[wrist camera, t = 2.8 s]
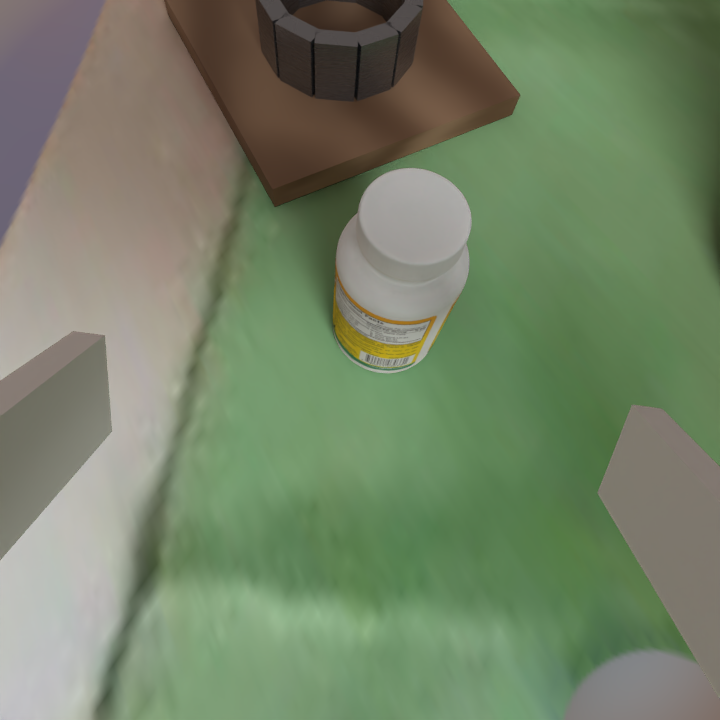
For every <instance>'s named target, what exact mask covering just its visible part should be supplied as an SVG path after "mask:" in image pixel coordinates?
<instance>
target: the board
mask: <svg viewBox="0 0 720 720" xmlns="http://www.w3.org/2000/svg"><path fill="white" fill-rule="evenodd" d="M164 1H165V4H166V8H167V11H168V15H169V17H170V19H171V21H172V22H173V24H174V26H175V28H176V30H177V31H178V33H179V35H180V37H181V39H182V40H183V42H184V44H185V46H186V48H187V49H188V51H189V53H190V55H191V57H192V58H193V60H194V62H195V64H196V66H197V67H198V69H199V71H200V73H201V75H202V76H203V78H204V80H205V82H206V84H207V85H208V87H209V89H210V91H211V93H212V94H213V96H214V98H215V100H216V102H217V103H218V105H219V107H220V109H221V111H222V112H223V114H224V116H225V118H226V120H227V121H228V123H229V125H230V127H231V129H232V130H233V132H234V134H235V136H236V138H237V139H238V141H239V143H240V145H241V147H242V148H243V150H244V152H245V154H246V156H247V157H248V159H249V161H250V163H251V165H252V166H253V168H254V170H255V172H256V174H257V175H258V177H259V179H260V181H261V183H262V185H263V186H264V188H265V190H266V192H267V194H268V195H269V197H270V199H271V201H272V203H273V204H274V206H275V207H276V206H278V205H281V204H283V203H286V202H289V201H291V200H294V199H296V198H299V197H301V196H304V195H307V194H309V193H312V192H314V191H317V190H319V189H322V188H325V187H327V186H330V185H332V184H335V183H337V182H340V181H343V180H345V179H348V178H350V177H353V176H355V175H358V174H361V173H363V172H366V171H368V170H371V169H373V168H376V167H379V166H381V165H384V164H386V163H389V162H391V161H394V160H397V159H399V158H402V157H404V156H407V155H409V154H412V153H415V152H417V151H420V150H422V149H425V148H427V147H430V146H433V145H435V144H438V143H440V142H443V141H445V140H448V139H451V138H453V137H456V136H458V135H461V134H463V133H466V132H469V131H471V130H474V129H476V128H479V127H481V126H484V125H487V124H489V123H492V122H494V121H497V120H499V119H502V118H505V117H507V116H510V115H512V113H513V111H514V109H515V106H516V104H517V102H518V99H519V97H520V94H519V93H518V91H517V90H516V89H515V87H514V86H513V85H512V84H511V82H510V81H509V80H508V78H507V77H506V76H505V75H504V73H503V72H502V71H501V70H500V68H499V67H498V66H497V64H496V63H495V62H494V61H493V59H492V58H491V57H490V55H489V54H488V53H487V52H486V50H485V49H484V48H483V46H482V45H481V44H480V43H479V41H478V40H477V39H476V38H475V36H474V35H473V34H472V32H471V31H470V30H469V29H468V27H467V26H466V25H465V23H464V22H463V21H462V20H461V18H460V17H459V16H458V15H457V13H456V12H455V11H454V9H453V8H452V7H451V6H450V4H449V3H448V2H447V0H423V10H422V15H421V21H420V26H419V32H418V37H417V42H416V48H415V53H414V59H413V63H412V66H411V67H410V68H409V69H408V70H407V72H406V73H405V74H404V75H403V76H402V78H401V79H400V80H399V81H398V82H397V84H396V85H395V86H394V87H393V88H392V87H391V90H388V91H385V92H382V93H379V94H377V95H374V96H371V97H368V98H365V99H362V100H360V101H357V100H356V99H355V97H354V102H350V101H338V100H326V99H315V95H314V96H313V97H310V96H308V95H306V94H304V93H302V92H301V91H299V90H297V89H295V88H293V87H291V86H290V85H288V84H286V83H284V82H282V81H280V78H277V76H276V74H275V73H274V71H273V70H272V68H271V66H270V65H269V63H268V61H267V60H266V58H265V56H264V55H263V53H262V50H261V43H260V34H259V26H258V18H257V10H256V2H255V0H164ZM293 16H295V17H296V18H298V19H300V20H302V21H304V22H306V23H308V24H310V25H312V26H314V27H316V28H317V29H322V30H333V31H344V32H358V31H361V30H364V29H367V28H370V27H374V26H377V25H380V24H383V23H386V21H385V20H384V18H383V17H382V16H381V15H379V14H377V13H375V12H373V11H371V10H369V9H367V8H365V7H363V6H361V5H359V4H357V3H350V2H339V1H328V0H326V1H323V2H319V3H316V4H313V5H309V6H306V7H303V8H300V9H298V10H297V11H296V12H295V13H294V14H293Z"/></svg>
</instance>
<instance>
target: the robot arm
mask: <svg viewBox="0 0 720 720" xmlns="http://www.w3.org/2000/svg"><path fill="white" fill-rule="evenodd" d="M111 432H112V426H111V412H110V399H109V386H108V372H107V359H106V345H105V335H98V334H90V333H83V332H75V331H73V332H71V333H70V334H68V335H67V336H65V337H64V338H63V339H61V340H60V341H58V342H57V343H55V344H54V345H52V346H51V347H49V348H48V349H46V350H45V351H43V352H42V353H40V354H39V355H38V356H36V357H35V358H33V359H32V360H30V361H29V362H27V363H26V364H24V365H23V366H21V367H20V368H18V369H17V370H16V371H14V372H13V373H11V374H10V375H8V376H7V377H5V378H4V379H2V380H1V381H0V560H1V559H2V558H3V556H4V555H5V554H6V553H7V552H8V551H9V550H10V548H11V547H12V546H13V545H14V544H15V543H16V541H17V540H18V539H19V538H20V537H21V536H22V535H23V533H24V532H25V531H26V530H27V529H28V528H29V526H30V525H31V524H32V523H33V522H34V521H35V520H36V518H37V517H38V516H39V515H40V514H41V513H42V511H43V510H44V509H45V508H46V507H47V506H48V505H49V503H50V502H51V501H52V500H53V499H54V498H55V496H56V495H57V494H58V493H59V492H60V491H61V490H62V488H63V487H64V486H65V485H66V484H67V483H68V481H69V480H70V479H71V478H72V477H73V476H74V475H75V473H76V472H77V471H78V470H79V469H80V468H81V466H82V465H83V464H84V463H85V462H86V461H87V460H88V458H89V457H90V456H91V455H92V454H93V453H94V451H95V450H96V449H97V448H98V447H99V446H100V445H101V443H102V442H103V441H104V440H105V439H106V438H107V436H108V435H109V434H110V433H111ZM598 495H599V497H600V498H601V500H602V502H603V503H604V505H605V507H606V508H607V510H608V512H609V513H610V515H611V517H612V519H613V520H614V522H615V524H616V525H617V527H618V529H619V530H620V532H621V534H622V535H623V537H624V539H625V540H626V542H627V544H628V546H629V547H630V549H631V551H632V552H633V554H634V556H635V557H636V559H637V561H638V562H639V564H640V566H641V568H642V569H643V571H644V573H645V574H646V576H647V578H648V579H649V581H650V583H651V584H652V586H653V588H654V589H655V591H656V593H657V595H658V596H659V598H660V600H661V601H662V603H663V605H664V606H665V608H666V610H667V611H668V613H669V615H670V616H671V618H672V620H673V622H674V623H675V625H676V627H677V628H678V630H679V632H680V633H681V635H682V637H683V638H684V640H685V642H686V644H687V645H688V647H689V649H690V650H691V652H692V654H693V655H694V657H695V659H696V660H697V662H698V664H699V665H700V667H701V669H702V671H703V672H704V674H705V676H706V677H707V679H708V681H709V682H710V684H711V686H712V687H713V689H714V691H715V692H716V694H717V696H718V698H719V699H720V467H719V465H718V464H717V463H716V462H715V461H714V460H713V459H712V458H711V457H710V456H709V455H708V454H707V453H706V452H705V451H704V450H703V449H702V448H701V447H700V446H699V445H698V444H697V443H696V442H695V441H694V440H693V439H692V438H691V437H690V436H689V435H688V434H687V433H686V432H685V431H684V430H683V429H682V428H681V427H680V426H679V425H678V424H677V423H676V422H675V421H674V420H673V419H672V418H671V417H670V416H669V415H668V414H667V413H666V412H665V411H664V410H663V409H661V408H653V407H645V406H638V405H632V406H631V409H630V411H629V414H628V416H627V419H626V421H625V424H624V427H623V429H622V432H621V434H620V437H619V439H618V442H617V444H616V447H615V450H614V452H613V455H612V457H611V460H610V462H609V465H608V467H607V470H606V473H605V475H604V478H603V480H602V483H601V485H600V488H599V490H598Z"/></svg>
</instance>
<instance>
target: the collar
mask: <svg viewBox="0 0 720 720" xmlns="http://www.w3.org/2000/svg"><path fill="white" fill-rule="evenodd" d="M323 1H326V0H255V2H256V10H257V18H258V26H259V34H260V43H261V50H262V53H263V55H264V56H265V58H266V60H267V61H268V63H269V65H270V66H271V68H272V70H273V71H274V73H275V74H276V76H277V78H280V81H282V82H284V83H286V84H288V85H290V86H291V87H293V88H295V89H297V90H299V91H301V92H302V93H304V94H306V95H308V96H310V97H313V96H314V95H315V99H326V100H338V101H350V102H354V97H355V99H356V100H357V101H360V100H362V99H365V98H368V97H371V96H374V95H377V94H379V93H382V92H385V91H388V90H391V87H392V88H393V87H394V86H395V85H396V84H397V82H398V81H399V80H400V79H401V78H402V76H403V75H404V74H405V73H406V72H407V70H408V69H409V68H410V67H411V66H412V63H413V59H414V53H415V48H416V42H417V37H418V32H419V26H420V21H421V15H422V10H423V0H328V1H339V2H350V3H357V4H359V5H361V6H363V7H365V8H367V9H369V10H371V11H373V12H375V13H377V14H379V15H381V16H382V17H383V18H384V20H385V21H386V23H383V24H380V25H377V26H374V27H370V28H367V29H364V30H361V31H358V32H344V31H333V30H322V29H317V28H316V27H314V26H312V25H310V24H308V23H306V22H304V21H302V20H300V19H298V18H296V17H295V16H293V14H294V13H295V12H296V11H297V10H298V9H300V8H303V7H306V6H309V5H313V4H316V3H319V2H323Z"/></svg>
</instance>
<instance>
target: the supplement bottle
mask: <svg viewBox="0 0 720 720" xmlns="http://www.w3.org/2000/svg"><path fill="white" fill-rule="evenodd" d="M470 231H471V212H470V208H469V205H468V203H467V201H466V199H465V197H464V196H463V194H462V193H461V191H460V190H459V189H458V188H457V187H456V186H455V185H454V184H453V183H451V182H450V181H449V180H447V179H446V178H444V177H442V176H440V175H439V174H436V173H434V172H431V171H428V170H425V169H418V168H401V169H397V170H393V171H390V172H387V173H385V174H383V175H381V176H380V177H378V178H376V179H375V180H374V181H373V182H372V183H371V184H370V185H369V186H368V187H367V189H366V190H365V192H364V193H363V195H362V198H361V200H360V203H359V208H358V213H357V214H356V215H355V216H353V218H352V219H351V220H350V221H349V222H348V223H347V225H346V226H345V228H344V230H343V231H342V234H341V236H340V239H339V242H338V246H337V251H336V259H335V285H334V303H333V332H334V336H335V339H336V341H337V344H338V346H339V347H340V349H341V350H342V352H343V353H344V354H345V355H346V356H347V357H348V358H349V359H350V360H351V361H352V362H354V363H355V364H357V365H358V366H360V367H362V368H364V369H367V370H370V371H373V372H379V373H395V372H400V371H403V370H406V369H408V368H410V367H412V366H414V365H416V364H417V363H418V362H420V361H421V360H422V359H423V358H424V357H425V356H426V355H427V353H428V352H429V350H430V349H431V347H432V346H433V344H434V342H435V340H436V338H437V336H438V334H439V332H440V330H441V329H442V327H443V325H444V323H445V321H446V319H447V317H448V316H449V314H450V312H451V310H452V308H453V306H454V305H455V303H456V301H457V299H458V297H459V296H460V294H461V292H462V290H463V288H464V285H465V283H466V280H467V277H468V272H469V252H468V247H467V244H466V242H467V239H468V237H469V234H470Z"/></svg>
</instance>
